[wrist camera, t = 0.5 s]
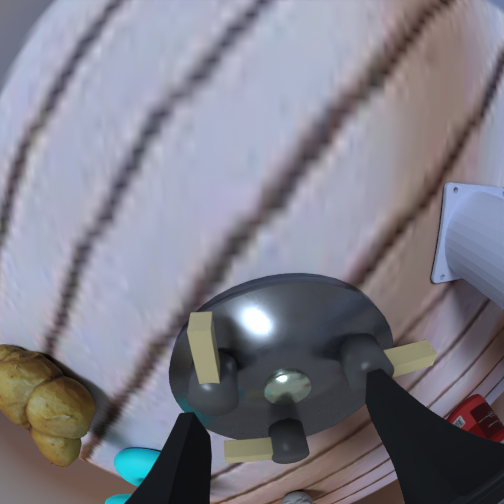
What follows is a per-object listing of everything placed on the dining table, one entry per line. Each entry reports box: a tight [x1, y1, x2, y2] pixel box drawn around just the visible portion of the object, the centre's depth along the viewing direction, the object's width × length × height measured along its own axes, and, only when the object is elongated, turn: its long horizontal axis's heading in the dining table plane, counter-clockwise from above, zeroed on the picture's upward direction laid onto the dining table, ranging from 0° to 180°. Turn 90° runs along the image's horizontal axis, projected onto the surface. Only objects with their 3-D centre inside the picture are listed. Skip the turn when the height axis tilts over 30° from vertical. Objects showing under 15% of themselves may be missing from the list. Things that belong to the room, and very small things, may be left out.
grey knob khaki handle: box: [224, 419, 310, 464], centre depth 21 cm, size 7×3×3 cm, turn 93°
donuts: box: [105, 448, 161, 504], centre depth 23 cm, size 10×10×10 cm
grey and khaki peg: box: [187, 311, 239, 416], centre depth 17 cm, size 7×3×3 cm, turn 3°
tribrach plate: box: [169, 273, 393, 440], centre depth 21 cm, size 18×18×2 cm
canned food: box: [447, 394, 504, 443], centre depth 25 cm, size 8×8×11 cm
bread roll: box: [0, 344, 96, 467], centre depth 17 cm, size 13×10×8 cm
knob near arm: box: [337, 333, 437, 395], centre depth 18 cm, size 7×3×3 cm, turn 93°
